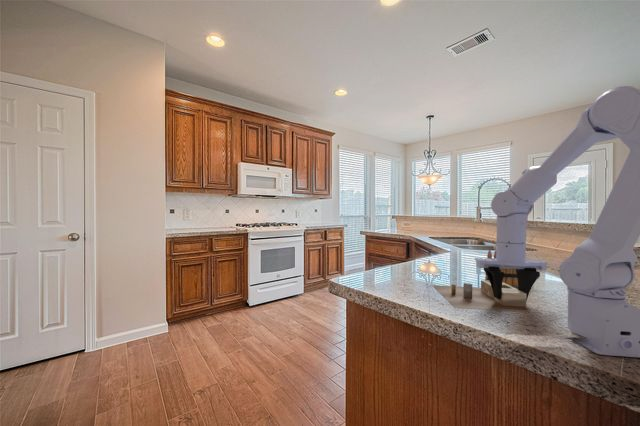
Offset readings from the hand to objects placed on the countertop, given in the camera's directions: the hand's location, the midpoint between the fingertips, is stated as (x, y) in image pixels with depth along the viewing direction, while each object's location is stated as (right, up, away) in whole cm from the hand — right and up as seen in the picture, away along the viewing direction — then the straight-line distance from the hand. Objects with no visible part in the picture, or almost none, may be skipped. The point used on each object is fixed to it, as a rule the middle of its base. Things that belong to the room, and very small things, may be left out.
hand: (509, 298), depth 63 cm
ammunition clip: (+10, -3, +16) cm, 19 cm away
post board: (-5, -3, +4) cm, 7 cm away
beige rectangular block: (+1, -1, +4) cm, 4 cm away
